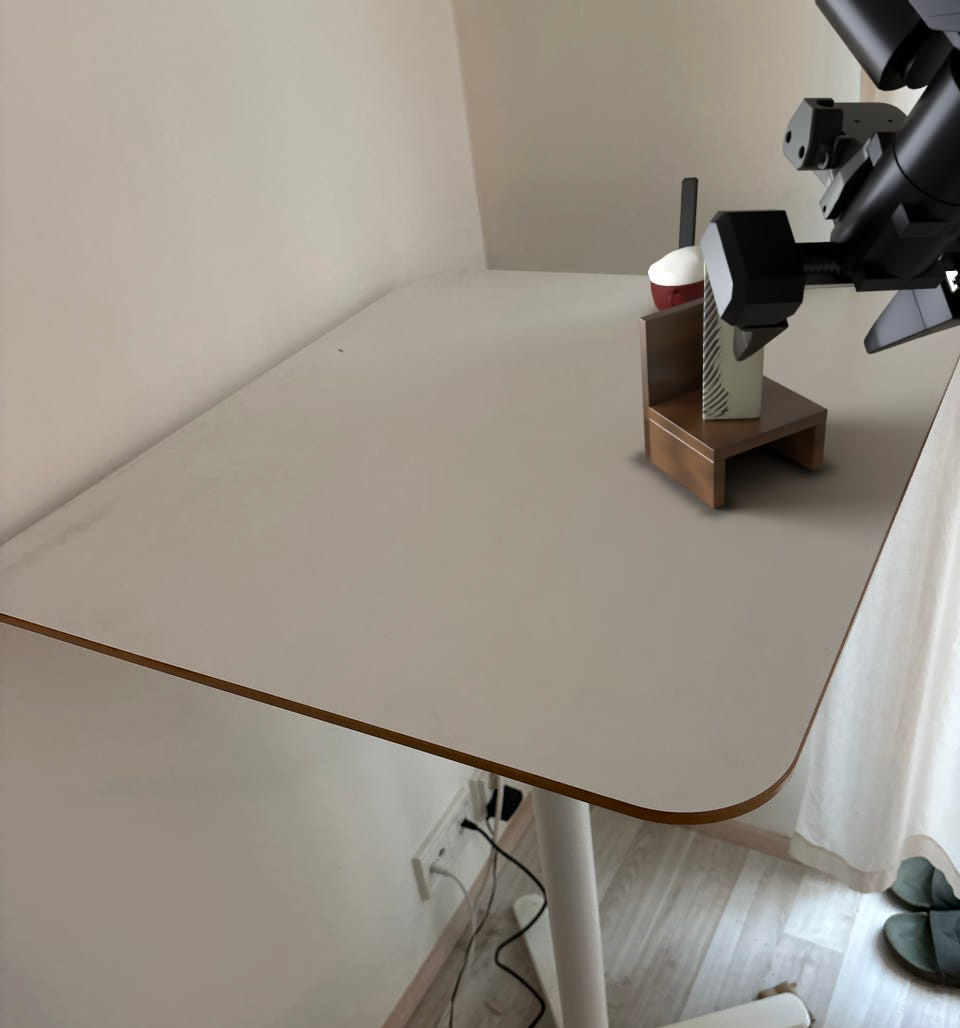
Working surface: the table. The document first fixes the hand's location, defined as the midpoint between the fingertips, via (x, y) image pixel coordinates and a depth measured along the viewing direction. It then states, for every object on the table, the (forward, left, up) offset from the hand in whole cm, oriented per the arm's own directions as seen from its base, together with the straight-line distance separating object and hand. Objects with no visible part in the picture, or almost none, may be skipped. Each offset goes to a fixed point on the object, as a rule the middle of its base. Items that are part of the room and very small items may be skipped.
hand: (803, 351), depth 61 cm
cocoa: (+28, -33, -13) cm, 45 cm away
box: (+8, -6, -8) cm, 13 cm away
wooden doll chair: (+8, -6, -13) cm, 16 cm away
